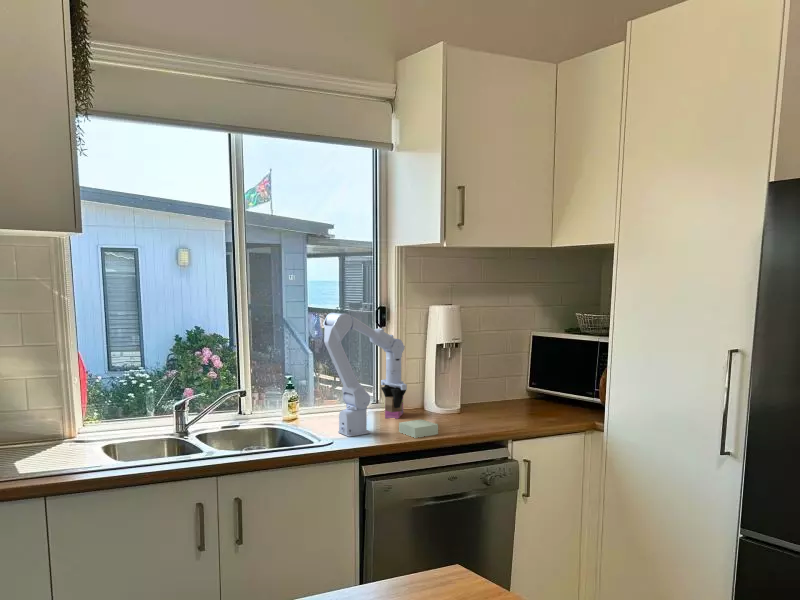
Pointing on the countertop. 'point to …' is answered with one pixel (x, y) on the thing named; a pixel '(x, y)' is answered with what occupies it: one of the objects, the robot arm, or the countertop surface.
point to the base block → (418, 428)
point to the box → (394, 413)
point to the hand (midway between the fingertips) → (393, 406)
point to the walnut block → (391, 405)
